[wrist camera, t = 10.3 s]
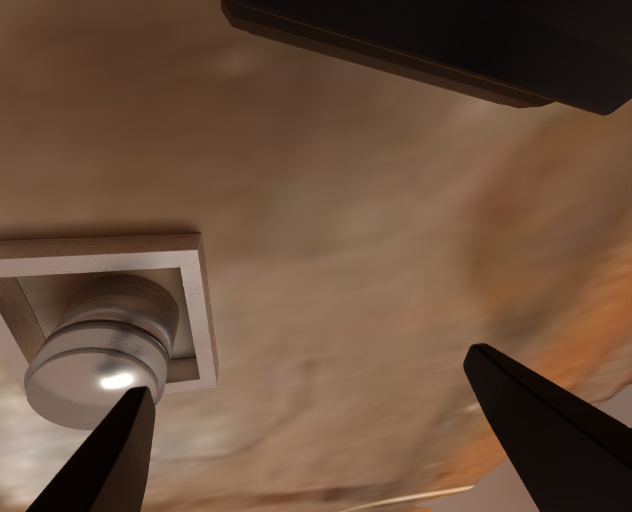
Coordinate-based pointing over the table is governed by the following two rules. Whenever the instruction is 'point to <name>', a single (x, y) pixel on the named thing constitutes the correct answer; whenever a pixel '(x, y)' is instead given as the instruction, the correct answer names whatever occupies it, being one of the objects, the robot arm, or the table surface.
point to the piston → (103, 351)
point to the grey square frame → (98, 256)
